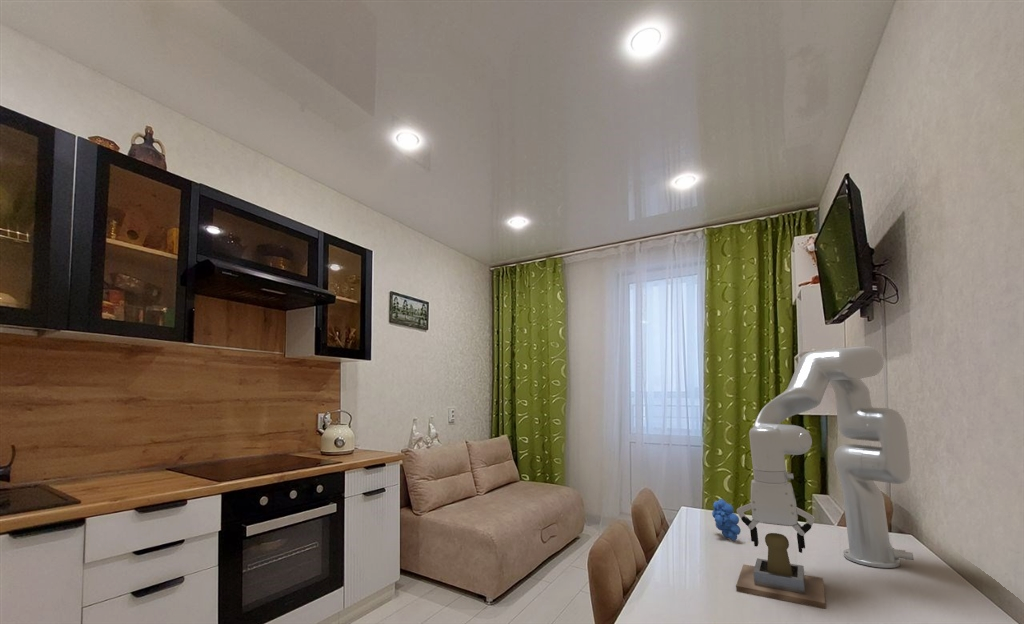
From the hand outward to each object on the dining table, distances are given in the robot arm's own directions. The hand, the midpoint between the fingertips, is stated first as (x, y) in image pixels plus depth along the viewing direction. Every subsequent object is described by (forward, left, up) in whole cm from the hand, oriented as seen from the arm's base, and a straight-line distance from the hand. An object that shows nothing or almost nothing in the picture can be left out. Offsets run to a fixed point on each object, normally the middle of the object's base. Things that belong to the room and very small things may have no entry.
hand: (778, 547), depth 115 cm
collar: (0, 0, -8) cm, 8 cm away
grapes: (+17, -33, -9) cm, 38 cm away
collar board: (0, 0, -9) cm, 9 cm away
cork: (0, 0, -8) cm, 8 cm away
